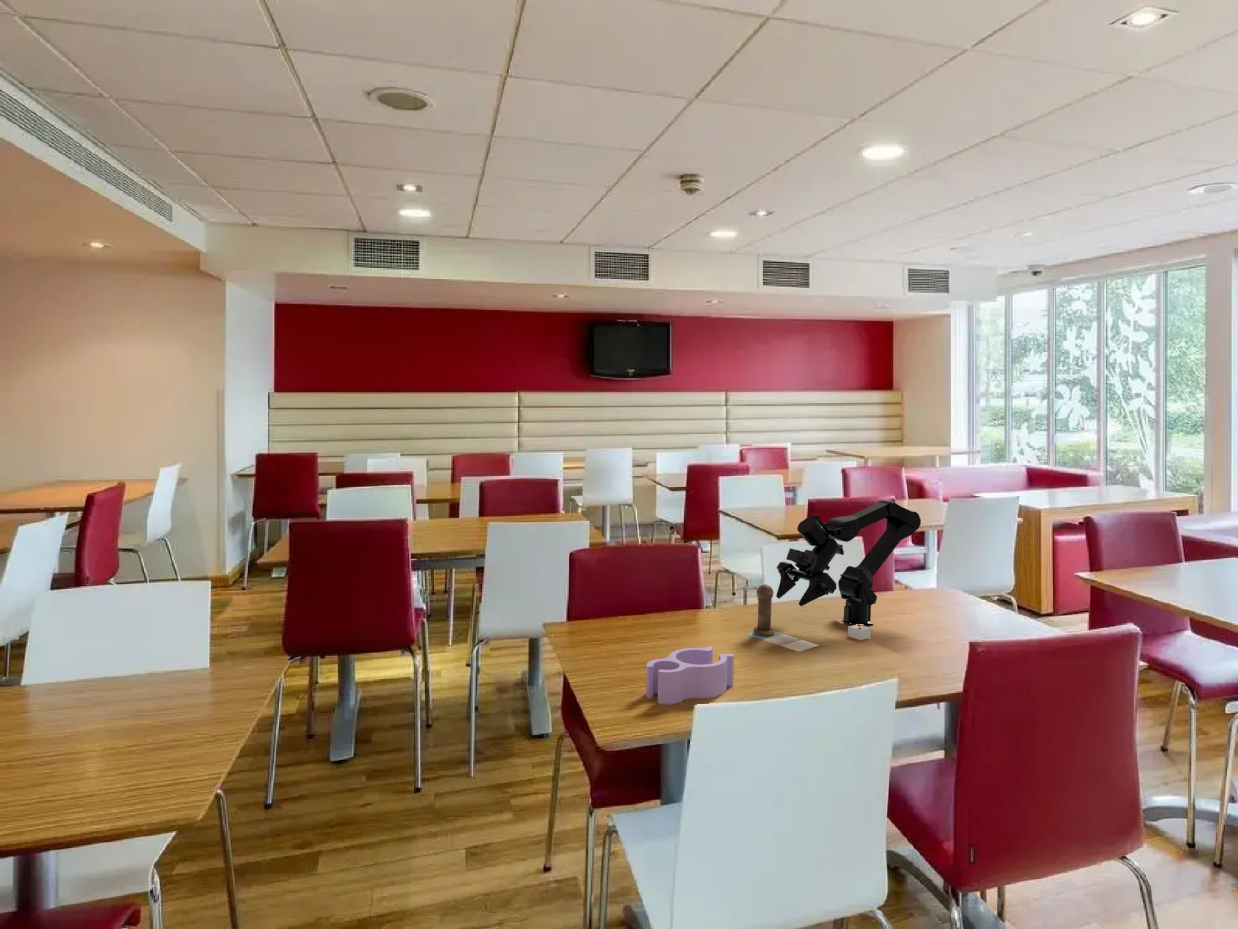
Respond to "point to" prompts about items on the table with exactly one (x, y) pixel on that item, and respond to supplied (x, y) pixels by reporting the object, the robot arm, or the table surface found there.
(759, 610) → the pawn
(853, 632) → the die
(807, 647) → the board
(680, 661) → the clip
